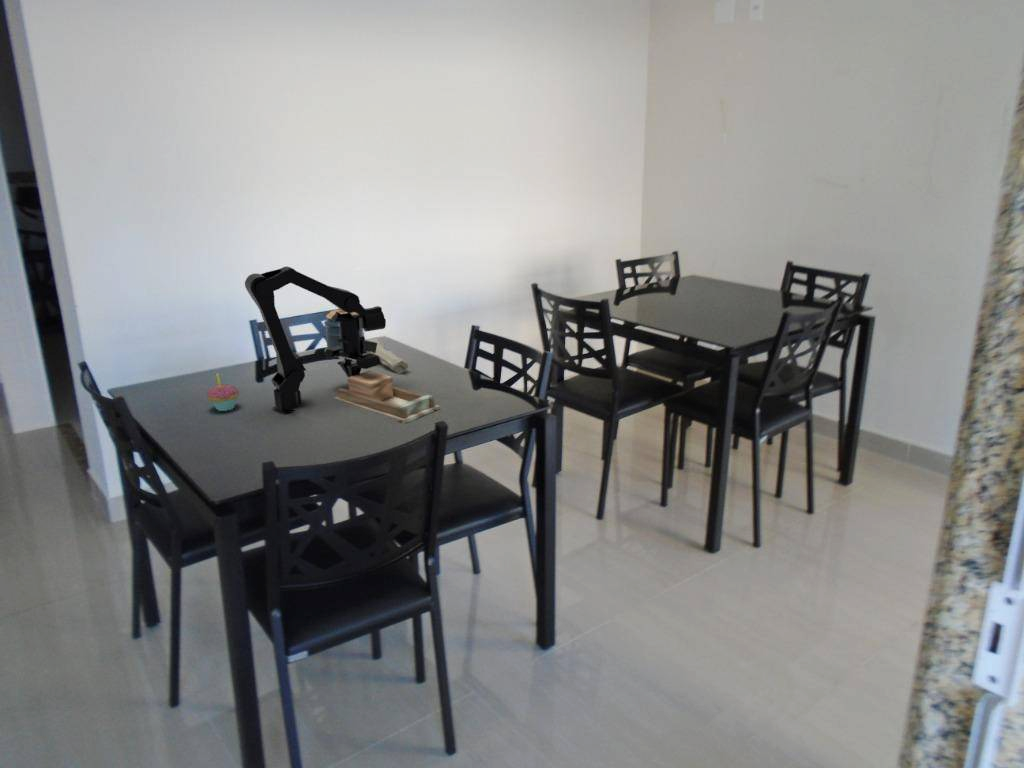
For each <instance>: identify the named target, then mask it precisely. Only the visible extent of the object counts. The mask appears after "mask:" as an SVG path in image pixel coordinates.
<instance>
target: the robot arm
mask: <svg viewBox="0 0 1024 768" xmlns="http://www.w3.org/2000/svg"><path fill="white" fill-rule="evenodd" d="M289 284H293V285H294V286H297V287H299V288H301V289H304V290H305V291H308V292H309V293H310V292H311V293H312V294H315V295H317V296H319V297H322V298H323V299H325V300H326V301H328V302H330V303H331V304H332V305H334V306H335V307H336V308H337V309H338V308H340V309H341V310H343V311H345V312H347V313H344V314H340V313H339V312H336V313H335V315H333V316H332V317H331V319H332V320H334V321H335V322H338V321H339V327H340V338H337V339H338V342H341V346H335V347H332V348H328V349H327V348H326V350H325V351H324V358H325V359H326V360H330V361H331V360H332V361H333V359H335V358H334V356H338V357H339V358H338V359H339V361H338V362H337V364H338V365H339V366H340V368H341V369H342V370H343V372H344V373H345V375H346V377H347V378H348V377H351V376H354V375H357V374H360V373H361V371H362V370H363V369H364V370H367V369H371V368H373V367H377V366H379V365H381V364H382V362H381V361H380V357H379V356H378V355H374V354H366V355H363V354H365V353H367V351H369V352H373V353H376V348H377V343H375V342H371V341H367V340H368V339H366V338H365V337H364V336H360V328H361V329H362V330H363V331H364V332H371V331H372V332H373V331H378V330H385V328H386V325H387V324H386V323H387V321H386V318H385V314H384V312H383V308H382V306H379V305H377V306H376V305H375V306H374V307H373V306H372V307H367V308H365V307H364V306H363V305H362V304H361V301H360V297H359V296H358V295H357V294H355V293H353V292H351V291H349V290H347V289H344V288H339V287H336V286H335V287H334V286H330V285H327V284H325V283H323V282H321V281H318V280H316V279H314V278H313V277H310V276H307V275H305V274H303V273H302V272H299V271H297V270H296V269H294V268H293V267H290V266H283V267H280V268H277V269H274V270H270V271H265V272H263V273H252V274H249V275H248V276H247V277H246V279H245V281H244V287H245V289H246V292H247V293H248V295H249V296H250V297H251V299H252V300H253V302H254V304H255V305H256V306H257V308H258V309H259V313H260V315H261V317H262V320H263V322H264V325H265V328H266V330H267V333H268V335H269V338H270V340H271V341H270V342H272V346H273V348H274V352H275V354H276V367H277V372H276V373H275V375H274V376H273V377H272V378H271V380H270V381H271V383H272V385H273V386H274V387H275V389H273V396H274V405H275V406H273V407H272V410H273V411H276V412H279V413H282V414H285V415H288V414H290V413H293V412H295V411H296V410H295V408H297V407H299V406H301V405H302V403H303V402H302V393H301V390H300V387H301V386H300V385H301V383H303V381H304V379H305V377H306V374H305V373H306V372H305V371H307V369H306V368H305V366H304V364H303V359H302V357H301V356H300V355H299V354H297V353H296V352H292V349H291V347H290V346H291V345H290V344H289V342H288V339H287V335H286V333H285V330H284V327H283V325H282V322H281V319H280V318H279V314H278V312H277V309H276V304H275V303H276V302H275V292H274V291H277V290H280V289H282V288H284V287H285V286H287V285H289ZM352 312H355V313H357V314H356V315H352V314H351V313H352ZM359 326H360V327H359Z"/></svg>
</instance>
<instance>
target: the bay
mask: <svg viewBox="0 0 1024 768" xmlns="http://www.w3.org/2000/svg"><path fill="white" fill-rule="evenodd" d="M336 390H337V396H335V397H333V399H335V400H338V401H341V402H345V403H348V404H350V405H354V406H357V407H360V408H363V409H366V410H369V411H372V412H375V413H378V414H381V415H385V416H388V417H391V418H393V419H397V420H398V421H397V423H399V422H401V423H400V424H402V423H403V425H405V424H407V423H406V422H408V423H410V422H412V421H414V419H415V420H417V419H420V418H422V417H424V416H423V415H425V414H427V413H430V412H432V411H434V410H437V409H439V408H440V409H441V406H440V405H437V404H435V397H434V395H431V394H426V395H425V394H422V393H418V392H415V391H411V390H408V389H405V388H401V387H397V386H394V385H393V397H390V398H387V399H385V400H382V401H381V400H378V399H375V398H371V397H368V396H365V395H362V394H358V393H355V392H352V391H349V389H345V388H338V389H336ZM440 409H439V410H440ZM437 411H438V410H437ZM434 412H435V411H434ZM432 413H433V412H432ZM430 414H431V413H430ZM427 415H428V414H427ZM421 416H422V417H421ZM425 416H426V415H425ZM419 417H420V418H419ZM416 418H417V419H416ZM409 421H410V422H409ZM404 423H405V424H404Z"/></svg>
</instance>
